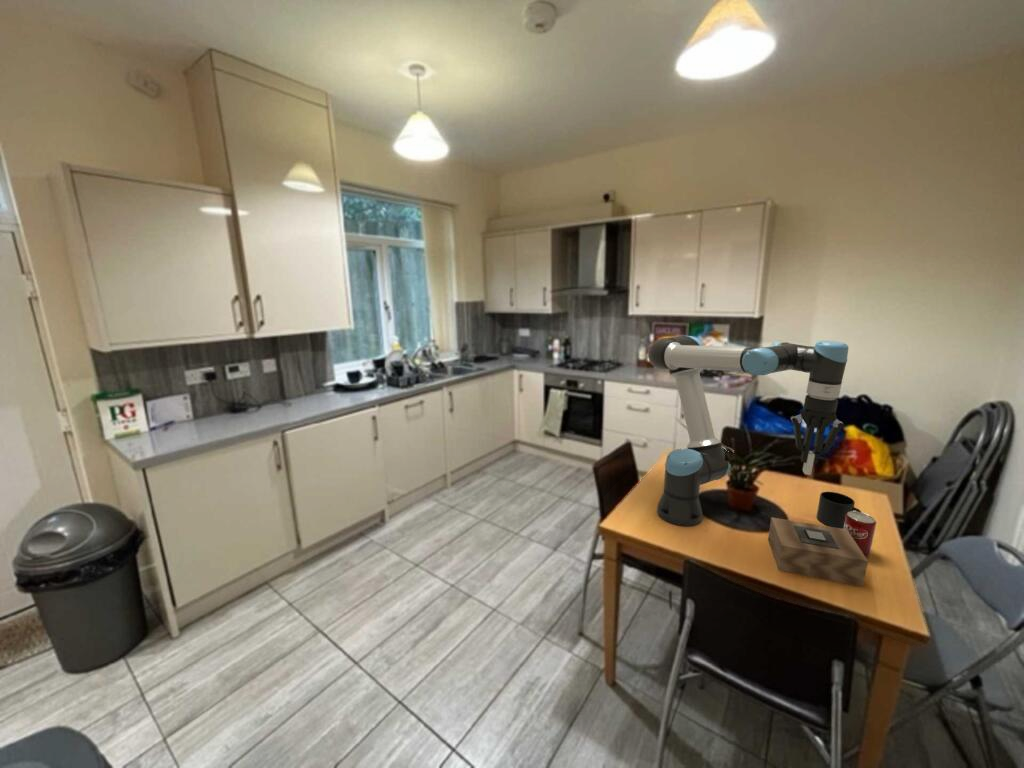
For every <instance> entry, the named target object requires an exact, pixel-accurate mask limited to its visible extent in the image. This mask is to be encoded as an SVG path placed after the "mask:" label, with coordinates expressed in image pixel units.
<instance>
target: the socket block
mask: <svg viewBox="0 0 1024 768" xmlns="http://www.w3.org/2000/svg"><path fill="white" fill-rule="evenodd" d="M806 530H808V531H814V532H820V533H822V534H823V535H824V537H825V539H826V542H821V541H815V540H809V539H808V538H807V536H806ZM767 541H768V544H769V546H770V550H771V552H772V556H773V558H774V561H775V564H776V567H777V570H778V571H782V572H783V571H784V572H788V573H793V574H798V575H803V576H807V577H812V578H818V579H824V580H826V581H831V582H832V581H833V582H839V583H842V584H843V583H844V584H847V585H852V586H853V585H854V586H858V587H864V586H863V585H864V583H865V577H866V572H867V569H868V568H867V567H868V563H869V560H868V559H867V557H865V556H864V554H863V553H862V551H861V550H860V548H859V547H858V545H857V544H856V542H855V541H854V539H853V538H852V536H851V535H850V533H849V532H848V530H847V529H841V528H835V527H830V526H827V525H824V524H823V525H820V524H815V523H808V522H803V521H797V520H790V519H786V518H779V517H772V516H771V518H770V523H769V530H768V538H767Z"/></svg>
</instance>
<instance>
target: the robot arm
mask: <svg viewBox="0 0 1024 768" xmlns="http://www.w3.org/2000/svg"><path fill="white" fill-rule="evenodd" d="M648 348H649V349H648V353H647V356H648V360H649V363H650V364H651V365H652V366H653V367H654V368H655V369H659V370H664V371H665V370H666V371H668V372H669V375H670V376H671V377H672V378H674V379H675V382H676V387H677V391H678V396H679V399H680V404H681V407H682V412H683V417H684V420H685V425H686V428H687V434H688V438H689V442H688V443H687V446H686V447H687V448H683V449H682V448H678V449H677V448H676V449H674V450H672V451H670V452H669V453H668V454H667V456H666V460H665V464H664V467H665V469H664V483H663V492H662V494H661V496H660V499H659V501H658V503H657V505H656V513H657V515H658V516H659V518H661V519H662V520H664V521H665V522H667V523H670V524H673V525H676V526H679V527H680V526H682V527H691V526H692V527H693V526H697V525H698V524H701V522H702V520H703V511H702V506H701V502H700V498H699V497H700V489H701V488H700V487H701V486H702V485H705V484H708V483H711V482H713V481H718V480H720V479H723V478H724V477H726V476H727V475H729V473H730V472H731V470H730V464H729V462H727V461H726V460H725V452H726V451H727V450H726V448H725V447H723V446H724V445H722V441H721V440H720V439H718V437H717V438H716V436H715V432H714V428H713V424H712V420H711V416H710V411H709V407H708V403H707V399H706V394H705V390H704V387H703V381H702V379H701V372H702V371H703V370H710V371H711V370H713V371H723V372H725V371H726V372H737V373H738V372H740V373H748V374H749V375H751V376H767V375H769V374H773V373H774V374H775V373H780V372H784V371H785V372H786V371H790V370H791V371H796V372H803V373H807V374H809V377H808V382H807V387H806V395H805V398H804V402H803V403H804V404H803V408H802V410H801V411H800V413H799V414H798V415H792V416H790V420H791V423H792V424H793V433H794V440H795V441H794V442H795V446H796V449H798V451H801V457H800V461H801V463H803V466H802V472H803V473H804V475H806V476H811V475H812V470H813V466H814V465H817V464H818V463H819V462H818V461H819V457H820V456H821V454H828V452H829V450H830V449H831V447H832V445H833V443H834V442H835V440H836V438H837V436H838V435H839V432H841V430H842V429H843V428H845V427H846V424H845V423H844V422H842V421H841V420H839V419H838V417H837V414H836V412H837V407H838V403H839V400H838V398H840V393H841V389H842V383H843V378H844V374H845V371H846V370H845V369H846V366H847V363H848V354H849V345H848V344H847V343H845V342H842V341H835V340H818V341H816V342H815V345H814V346H811V345H810V346H809V345H803V344H795V343H791V342H790V343H789V342H788V341H787V342H786V341H784V342H781V341H775V342H772V344H770V345H769V346H728V345H727V346H726V345H725V346H724V345H723V346H722V345H721V346H720V345H704V343H703V342H702V341H701V340H700V339H699V338H697V337H696V336H691V335H681V336H671V337H662V338H660V339H656V340H655V341H654V342H653V343H652V344H651V345H650V347H648ZM802 420H803V422H804V423H805V425H806V427H805V433H804V439H802V430H801V425H800V424H801V423H802ZM830 425H832V426H831V428H830V429H829V431H828V433H827V434H826V437H825V439H824V435H825V433H826V428H828V427H829V426H830ZM815 429H816V430H815ZM815 431H816V432H815ZM814 432H815V436H814V442H813V447H812V450H811V446H812V441H813V435H814ZM724 449H725V450H726V451H724ZM728 452H729V451H728Z"/></svg>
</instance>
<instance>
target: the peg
mask: <svg viewBox="0 0 1024 768" xmlns="http://www.w3.org/2000/svg"><path fill="white" fill-rule="evenodd" d="M806 536H807V538H808V539H809V540H815V541H821V542H826V539H825V537H824V535H823V534H822V533H820V532H814V531H808V530H806Z"/></svg>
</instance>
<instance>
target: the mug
mask: <svg viewBox="0 0 1024 768" xmlns="http://www.w3.org/2000/svg"><path fill="white" fill-rule="evenodd" d="M850 511H857V512H862V511H861V510H860V509H859V508H857V507H855V500H854V499H853V498H851V497H850V496H848V495H846V494H843V493H839V492H835V491H823V492H821V493H820V494H819V500H818V506H817V512H816V519H817V520H818V521H819V522H820V523H822V524H823V525H824V526H829V527H835V528H841V529H843V526H844V520H845V515H846V513H848V512H850Z"/></svg>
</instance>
